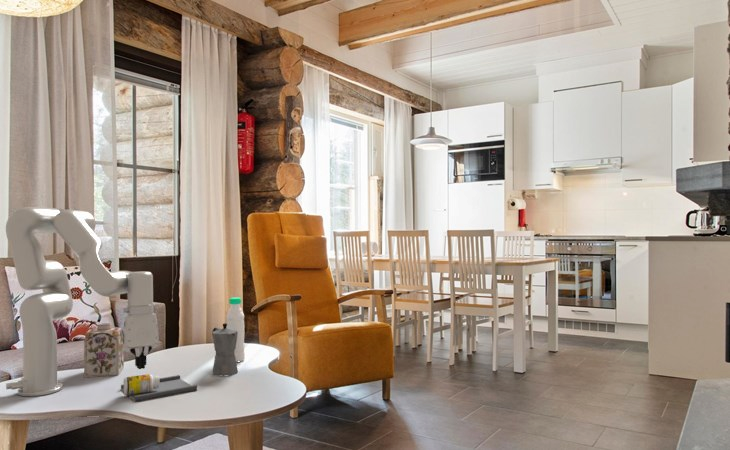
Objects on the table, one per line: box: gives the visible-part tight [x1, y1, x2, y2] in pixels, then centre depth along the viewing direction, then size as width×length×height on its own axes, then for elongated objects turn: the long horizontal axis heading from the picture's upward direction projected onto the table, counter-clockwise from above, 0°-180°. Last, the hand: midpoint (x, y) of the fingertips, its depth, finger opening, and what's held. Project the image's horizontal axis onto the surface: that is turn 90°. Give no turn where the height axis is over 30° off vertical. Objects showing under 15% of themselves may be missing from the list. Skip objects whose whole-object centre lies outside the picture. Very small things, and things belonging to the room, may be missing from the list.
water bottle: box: [225, 297, 246, 363], centre depth 217 cm, size 7×7×25 cm
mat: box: [120, 374, 198, 403], centre depth 178 cm, size 19×17×2 cm
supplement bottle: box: [123, 373, 160, 396], centre depth 173 cm, size 6×6×10 cm
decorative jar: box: [83, 322, 125, 378], centre depth 201 cm, size 12×12×18 cm
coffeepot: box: [211, 322, 239, 376], centre depth 200 cm, size 15×9×18 cm, turn 44°
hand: (140, 367), depth 174 cm, fingers closed
